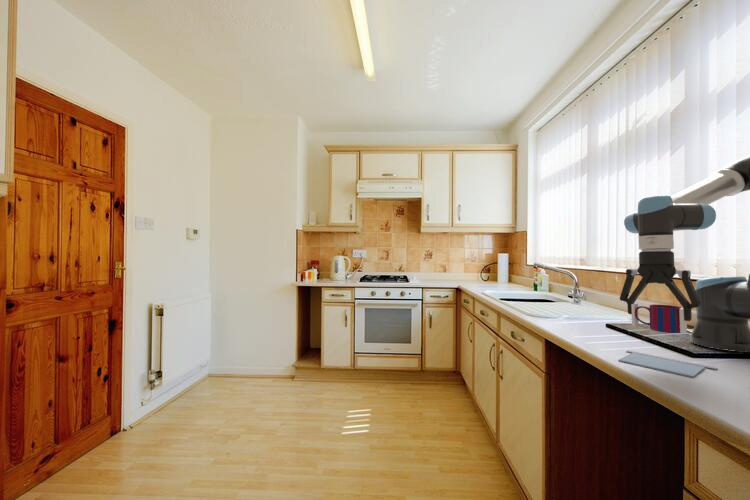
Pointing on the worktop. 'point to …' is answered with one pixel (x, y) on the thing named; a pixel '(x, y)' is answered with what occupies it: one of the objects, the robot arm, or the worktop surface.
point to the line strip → (674, 360)
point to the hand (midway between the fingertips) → (658, 328)
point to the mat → (663, 364)
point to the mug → (663, 318)
